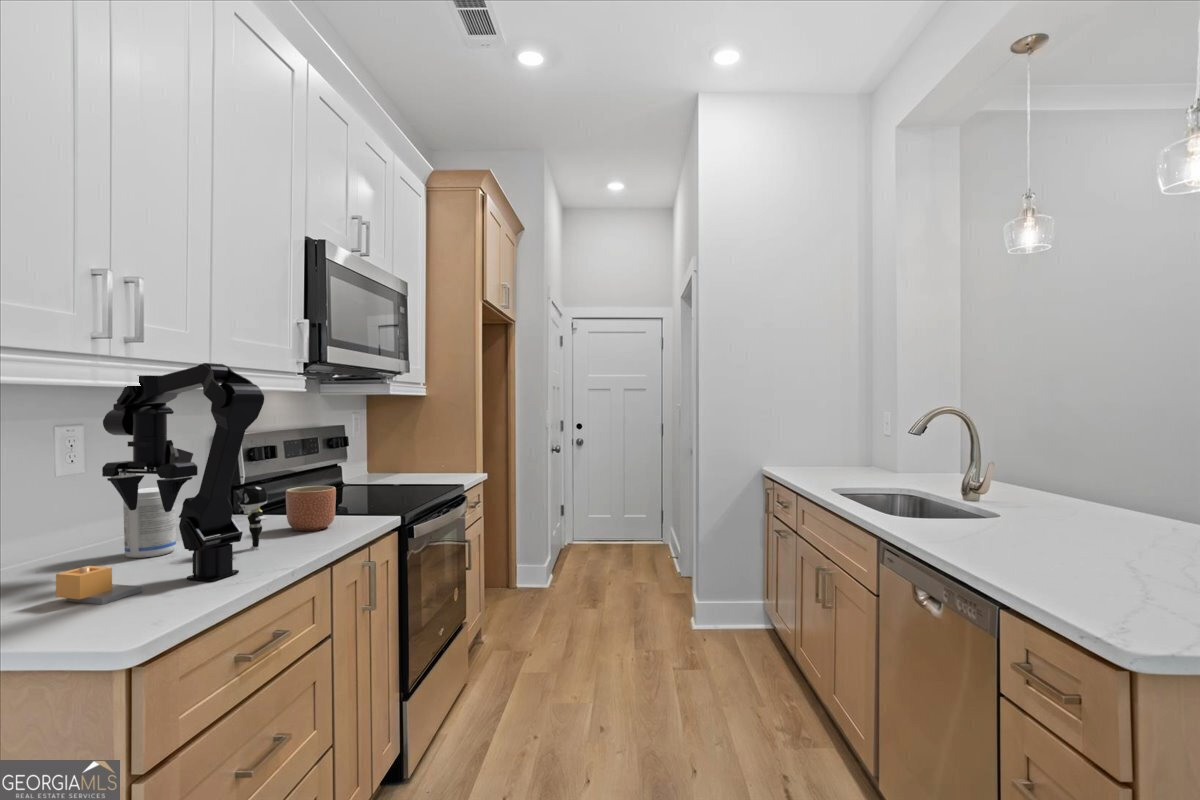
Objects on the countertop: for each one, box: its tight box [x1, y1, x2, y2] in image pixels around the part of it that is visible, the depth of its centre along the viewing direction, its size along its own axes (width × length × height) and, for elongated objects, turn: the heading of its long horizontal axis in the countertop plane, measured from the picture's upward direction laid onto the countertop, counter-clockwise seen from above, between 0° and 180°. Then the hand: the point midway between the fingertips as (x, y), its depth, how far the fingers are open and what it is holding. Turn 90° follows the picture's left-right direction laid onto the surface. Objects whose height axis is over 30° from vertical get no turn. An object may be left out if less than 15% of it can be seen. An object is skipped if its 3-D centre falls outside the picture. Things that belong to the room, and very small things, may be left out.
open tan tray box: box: [55, 565, 113, 599], centre depth 108 cm, size 5×5×4 cm
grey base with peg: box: [66, 566, 143, 605], centre depth 109 cm, size 8×7×6 cm
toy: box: [239, 484, 269, 551], centre depth 144 cm, size 13×6×15 cm, turn 42°
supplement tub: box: [122, 486, 177, 559], centre depth 140 cm, size 10×10×15 cm
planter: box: [285, 485, 337, 532], centre depth 167 cm, size 12×12×11 cm
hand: (150, 510), depth 127 cm, fingers open, 9 cm apart
